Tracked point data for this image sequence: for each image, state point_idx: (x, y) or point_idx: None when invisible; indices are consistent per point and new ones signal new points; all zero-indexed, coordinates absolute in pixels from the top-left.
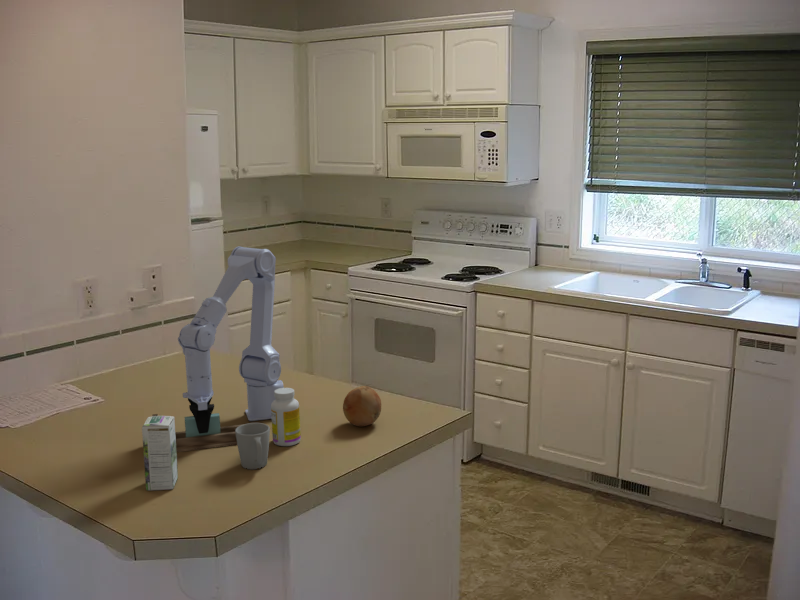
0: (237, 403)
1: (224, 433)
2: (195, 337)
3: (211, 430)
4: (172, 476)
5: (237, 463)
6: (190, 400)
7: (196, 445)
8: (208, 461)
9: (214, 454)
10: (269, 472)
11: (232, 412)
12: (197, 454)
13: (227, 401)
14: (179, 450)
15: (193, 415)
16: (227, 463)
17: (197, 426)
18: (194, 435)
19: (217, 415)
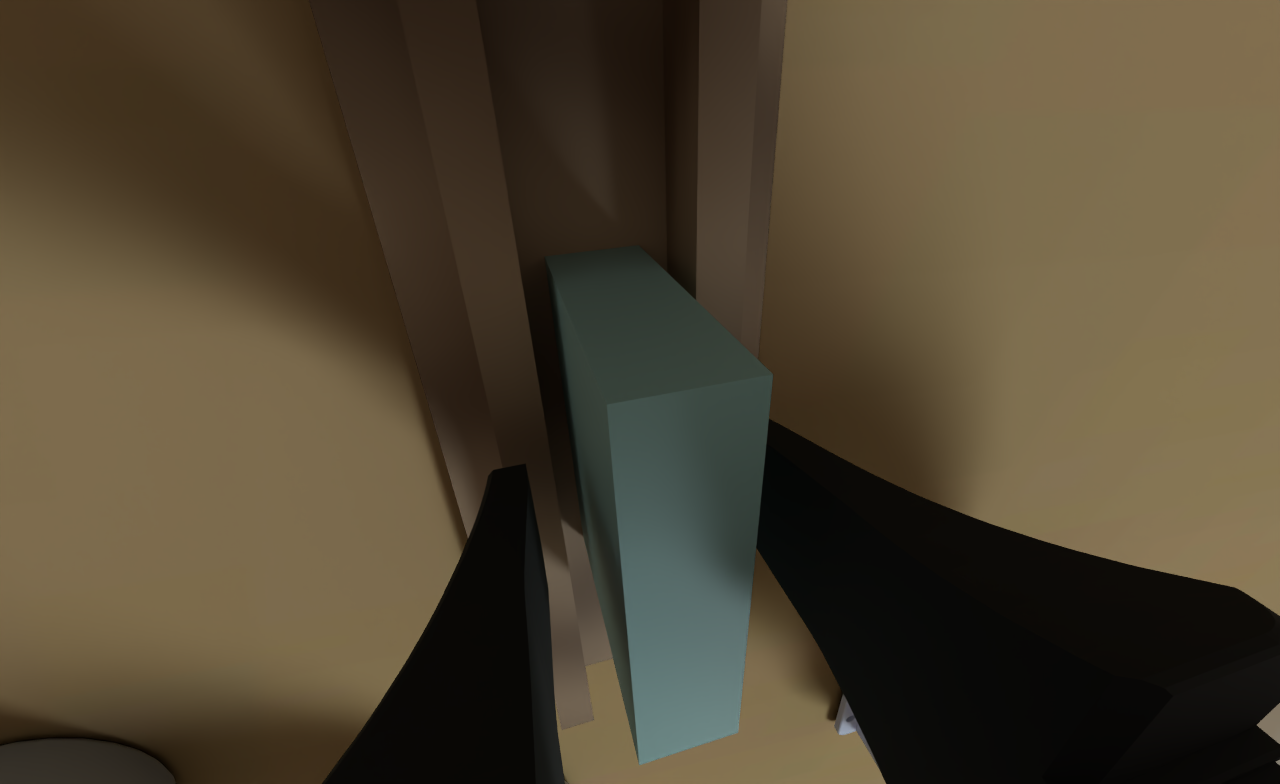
0: (1154, 501)
1: (562, 617)
2: None
3: (594, 551)
4: None
5: (62, 703)
6: (1096, 710)
7: (474, 363)
8: (68, 500)
9: (284, 519)
10: None
11: (1056, 499)
12: (281, 377)
13: (1222, 449)
14: (365, 172)
15: (347, 755)
16: (44, 646)
17: (468, 538)
18: (567, 380)
19: (660, 745)
